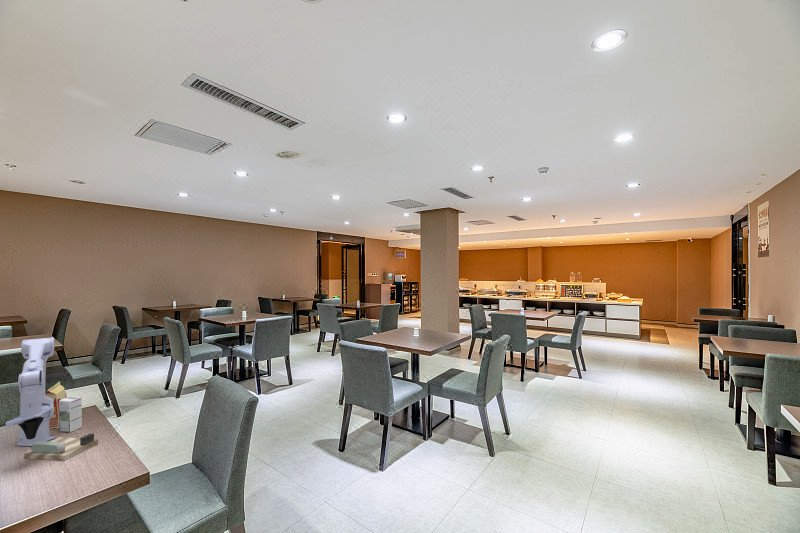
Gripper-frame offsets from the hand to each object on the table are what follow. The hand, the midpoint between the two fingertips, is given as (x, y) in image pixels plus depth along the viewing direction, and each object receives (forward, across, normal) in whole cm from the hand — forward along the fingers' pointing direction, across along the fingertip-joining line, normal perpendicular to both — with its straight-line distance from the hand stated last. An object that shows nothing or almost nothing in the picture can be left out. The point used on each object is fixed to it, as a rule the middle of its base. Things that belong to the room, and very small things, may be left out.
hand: (30, 438), depth 136 cm
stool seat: (+9, +10, -2) cm, 14 cm away
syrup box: (+10, +28, +15) cm, 33 cm away
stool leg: (+7, +5, -2) cm, 9 cm away
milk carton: (+10, +30, +27) cm, 42 cm away
